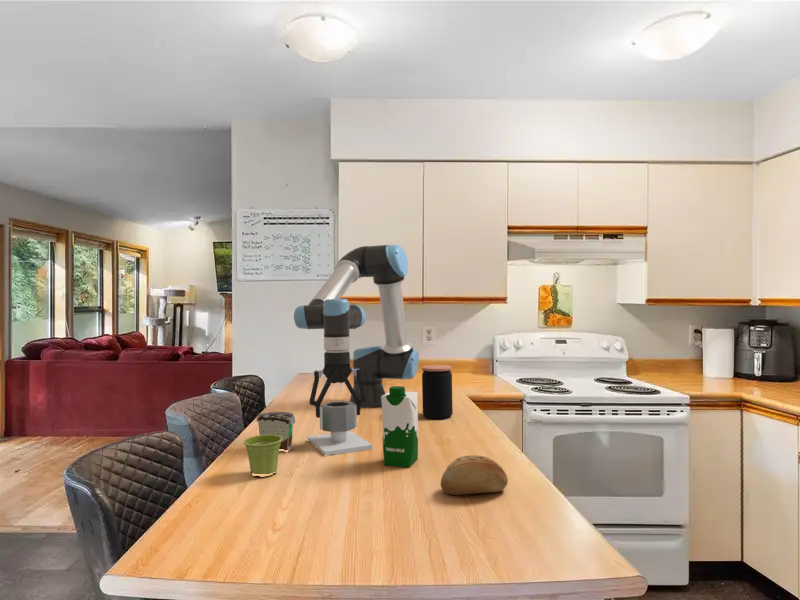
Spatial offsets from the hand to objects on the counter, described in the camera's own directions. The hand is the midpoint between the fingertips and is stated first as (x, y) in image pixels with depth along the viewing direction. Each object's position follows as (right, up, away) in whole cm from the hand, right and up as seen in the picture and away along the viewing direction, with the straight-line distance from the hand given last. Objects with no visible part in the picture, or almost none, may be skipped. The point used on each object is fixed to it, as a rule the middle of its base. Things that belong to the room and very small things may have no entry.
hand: (338, 427), depth 158 cm
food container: (-16, -6, -2) cm, 18 cm away
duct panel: (0, -5, 0) cm, 5 cm away
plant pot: (-16, -6, -25) cm, 30 cm away
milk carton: (+19, -5, -18) cm, 26 cm away
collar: (0, 0, 0) cm, 0 cm away
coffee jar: (+32, -5, +34) cm, 47 cm away
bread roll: (+35, -5, -40) cm, 53 cm away
